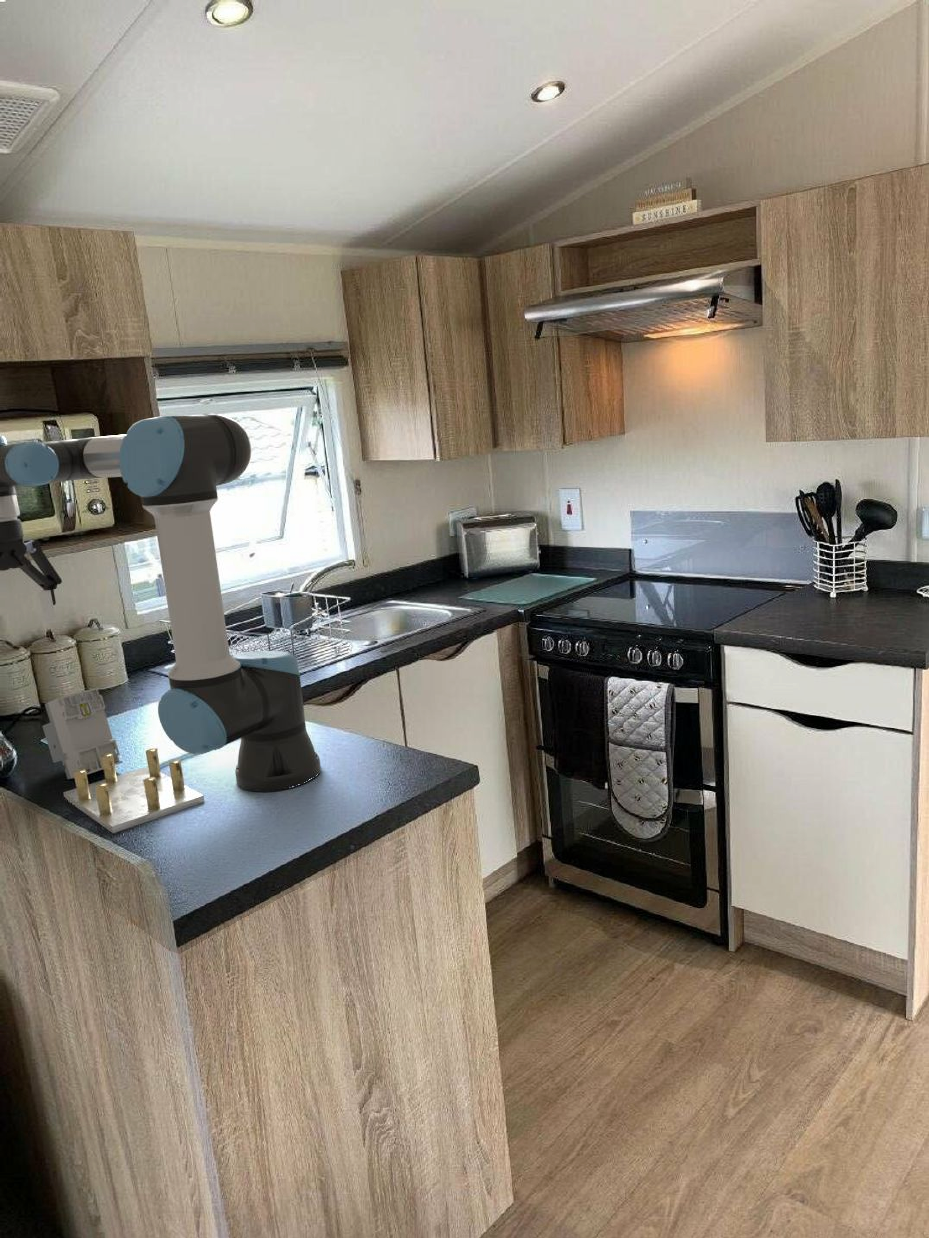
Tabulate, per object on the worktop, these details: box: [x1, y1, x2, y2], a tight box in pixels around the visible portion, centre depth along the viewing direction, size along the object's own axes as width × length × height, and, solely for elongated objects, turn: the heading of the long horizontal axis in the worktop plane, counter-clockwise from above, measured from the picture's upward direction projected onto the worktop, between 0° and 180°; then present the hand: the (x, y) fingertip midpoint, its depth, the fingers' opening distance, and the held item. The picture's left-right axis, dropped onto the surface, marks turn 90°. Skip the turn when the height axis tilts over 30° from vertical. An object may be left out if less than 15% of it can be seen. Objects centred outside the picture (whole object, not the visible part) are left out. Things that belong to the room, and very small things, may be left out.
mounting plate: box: [62, 748, 205, 834], centre depth 169 cm, size 23×16×6 cm
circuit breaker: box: [42, 687, 123, 780], centre depth 185 cm, size 8×14×15 cm, turn 46°
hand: (19, 631), depth 184 cm, fingers open, 13 cm apart
